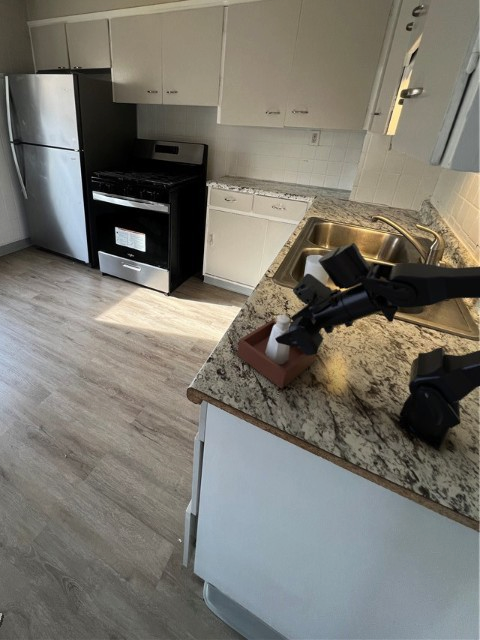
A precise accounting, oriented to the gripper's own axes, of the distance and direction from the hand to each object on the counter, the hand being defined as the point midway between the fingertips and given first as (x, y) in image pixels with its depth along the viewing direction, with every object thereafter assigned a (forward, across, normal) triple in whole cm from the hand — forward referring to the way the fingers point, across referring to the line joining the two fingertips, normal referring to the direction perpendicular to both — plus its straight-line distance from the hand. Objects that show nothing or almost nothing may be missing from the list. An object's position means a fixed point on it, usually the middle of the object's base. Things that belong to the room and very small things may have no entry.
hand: (284, 329), depth 69 cm
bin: (+7, 0, +6) cm, 9 cm away
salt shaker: (+6, 0, +6) cm, 9 cm away
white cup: (+9, -39, +4) cm, 40 cm away
